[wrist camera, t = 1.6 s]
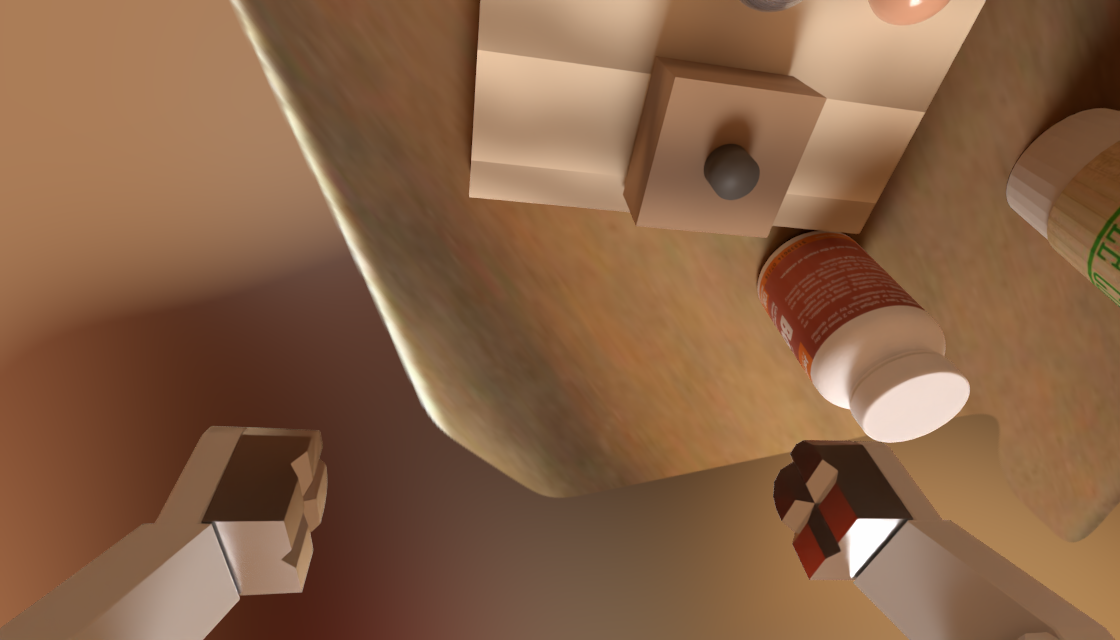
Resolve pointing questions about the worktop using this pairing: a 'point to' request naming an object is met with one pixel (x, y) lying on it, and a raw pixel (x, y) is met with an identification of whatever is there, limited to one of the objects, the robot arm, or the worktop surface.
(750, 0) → the steel ball
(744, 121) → the cover
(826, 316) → the pill bottle
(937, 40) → the board
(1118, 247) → the coffee cup
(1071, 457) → the worktop surface
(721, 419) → the worktop surface
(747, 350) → the worktop surface
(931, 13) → the terracotta ball
